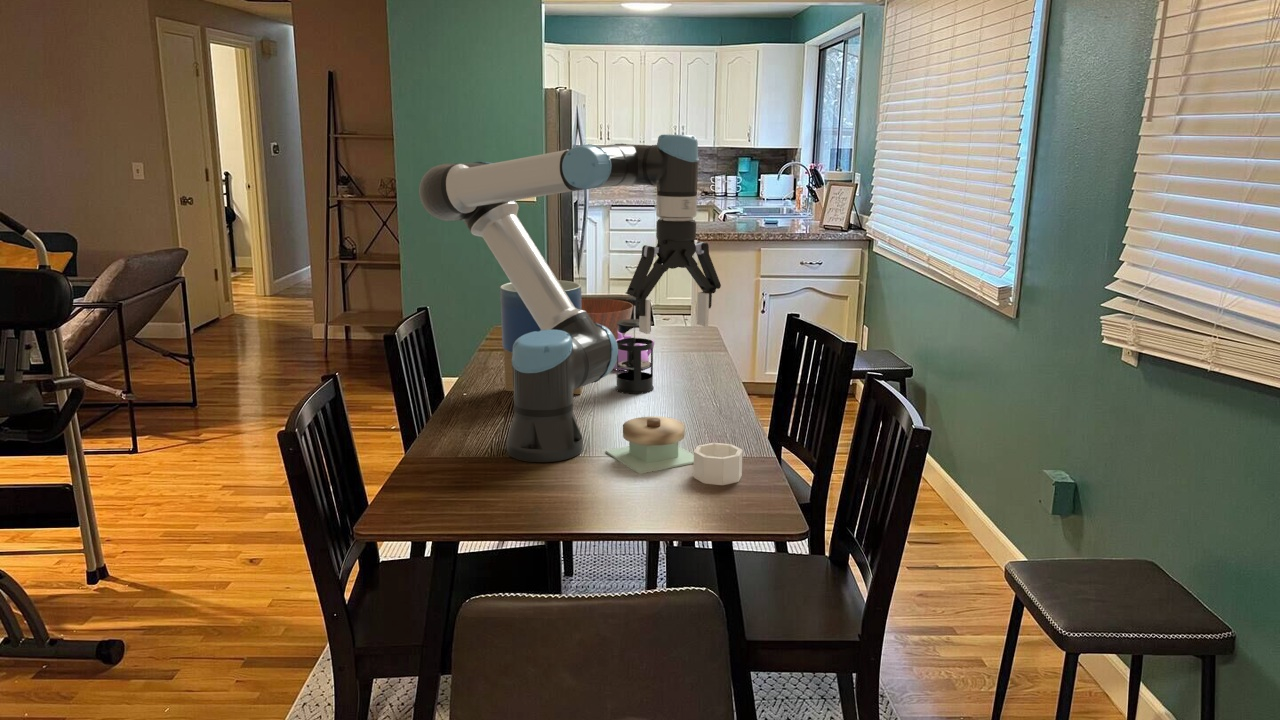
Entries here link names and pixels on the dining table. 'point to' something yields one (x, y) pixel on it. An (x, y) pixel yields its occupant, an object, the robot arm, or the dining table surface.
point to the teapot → (623, 354)
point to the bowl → (607, 312)
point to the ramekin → (717, 463)
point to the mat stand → (652, 457)
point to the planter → (524, 322)
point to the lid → (653, 431)
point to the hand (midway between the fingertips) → (674, 328)
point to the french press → (634, 359)
